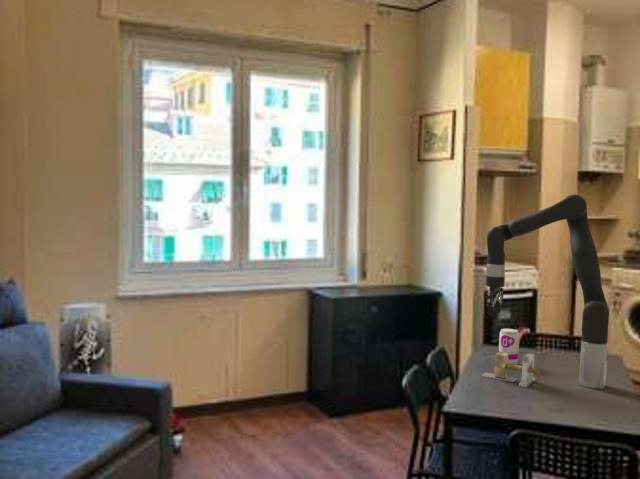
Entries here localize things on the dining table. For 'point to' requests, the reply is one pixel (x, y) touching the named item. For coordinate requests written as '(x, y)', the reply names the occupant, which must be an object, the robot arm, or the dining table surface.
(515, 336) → the supplement can
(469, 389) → the dining table surface
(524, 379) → the white stand
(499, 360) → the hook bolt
